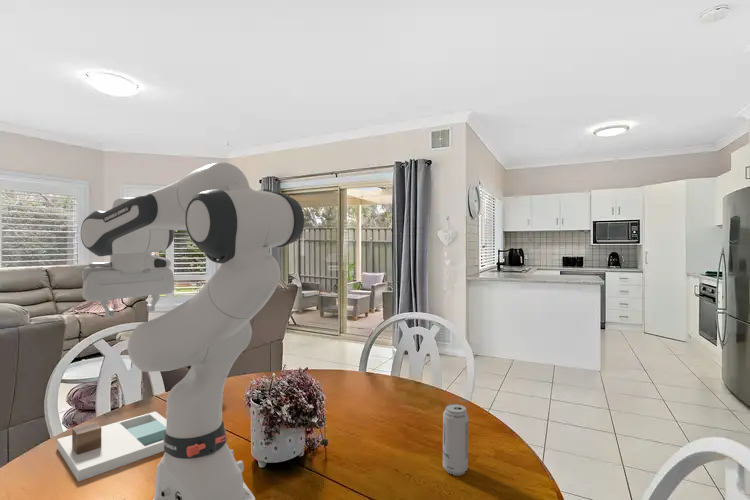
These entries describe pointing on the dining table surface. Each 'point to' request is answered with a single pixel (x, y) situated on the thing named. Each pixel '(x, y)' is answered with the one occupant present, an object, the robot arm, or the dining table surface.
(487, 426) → the dining table surface
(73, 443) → the walnut block
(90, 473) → the board
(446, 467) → the energy drink can
